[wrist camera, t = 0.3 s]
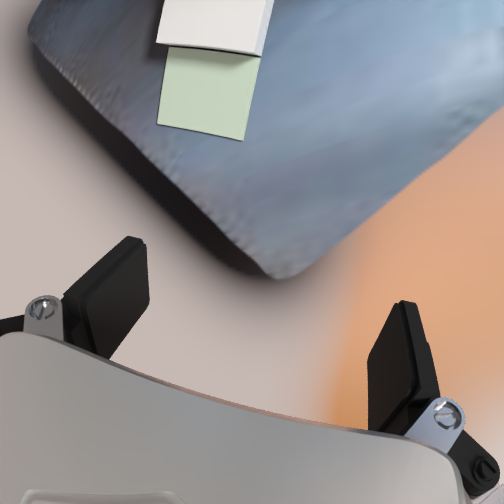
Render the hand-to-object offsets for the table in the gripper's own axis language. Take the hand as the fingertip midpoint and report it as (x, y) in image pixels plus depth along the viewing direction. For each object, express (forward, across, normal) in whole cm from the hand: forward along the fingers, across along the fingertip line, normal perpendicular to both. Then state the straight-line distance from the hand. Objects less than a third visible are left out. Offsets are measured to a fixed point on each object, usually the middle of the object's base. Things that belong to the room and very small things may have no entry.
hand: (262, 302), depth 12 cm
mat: (+31, +14, -5) cm, 34 cm away
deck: (+31, +13, -19) cm, 38 cm away
